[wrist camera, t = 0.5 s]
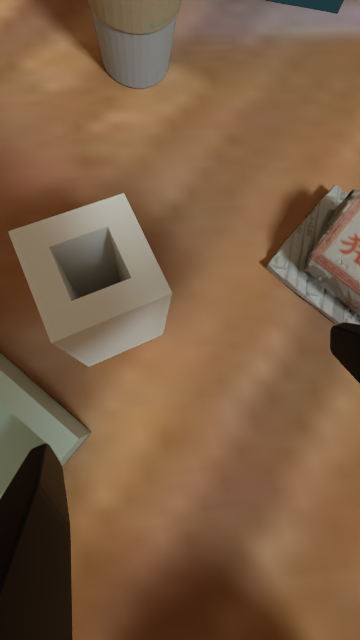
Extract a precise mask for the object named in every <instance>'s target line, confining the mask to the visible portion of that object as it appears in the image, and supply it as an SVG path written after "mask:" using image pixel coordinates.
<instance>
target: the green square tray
mask: <svg viewBox="0 0 360 640" xmlns="http://www.w3.org/2000/svg"><path fill="white" fill-rule="evenodd" d="M90 434H91V431H89V430H88V429H87V428H86V427H85V426H84V425H83V424H81V423H80V422H79V421H78V420H77V419H76V418H75V417H73V416H72V415H71V414H70V413H69V412H68V411H66V410H65V409H64V408H63V407H62V406H61V405H60V404H58V403H57V402H56V401H55V400H54V399H53V398H52V397H50V396H49V395H48V394H47V393H46V392H45V391H44V390H42V389H41V388H40V387H39V386H38V385H37V384H35V383H34V382H33V381H32V380H31V379H30V378H29V377H27V376H26V375H25V374H24V373H23V372H22V371H21V370H19V369H18V368H17V367H16V366H15V365H14V364H12V363H11V362H10V361H9V360H8V359H7V358H6V357H4V356H3V355H2V354H1V353H0V498H1V496H2V495H3V493H4V492H5V490H6V488H7V487H8V485H9V484H10V482H11V480H12V479H13V477H14V475H15V474H16V472H17V471H18V469H19V467H20V466H21V464H22V463H23V461H24V459H25V458H26V456H27V454H28V453H29V451H30V450H31V449H32V448H34V447H36V446H39V445H41V444H44V443H48V444H49V445H50V446H51V448H52V450H53V451H54V453H55V454H56V456H57V458H58V459H59V461H60V463H61V465H62V467H63V466H64V465H65V463H66V462H67V461H68V460H69V459H70V457H71V456H72V455H73V454H74V453H75V451H76V450H77V449H78V448H79V447H80V445H81V444H82V443H83V442H84V441H85V439H86V438H87V437H88V436H89V435H90Z"/></svg>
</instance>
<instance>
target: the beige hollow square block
mask: <svg viewBox="0 0 360 640" xmlns="http://www.w3.org/2000/svg"><path fill="white" fill-rule="evenodd" d="M8 233H9V236H10V238H11V241H12V243H13V246H14V249H15V251H16V254H17V256H18V259H19V262H20V264H21V267H22V269H23V272H24V275H25V277H26V280H27V282H28V285H29V288H30V290H31V293H32V295H33V298H34V300H35V303H36V306H37V308H38V311H39V313H40V316H41V319H42V321H43V324H44V326H45V329H46V332H47V334H48V337H49V339H50V342H51V343H52V344H53V345H55V346H56V347H58V348H60V349H61V350H63V351H64V352H66V353H67V354H69V355H71V356H72V357H74V358H75V359H77V360H79V361H80V362H82V363H83V364H85V365H87V366H88V367H90V366H92V365H94V364H97V363H99V362H101V361H104V360H106V359H108V358H110V357H113V356H115V355H117V354H120V353H122V352H124V351H126V350H129V349H131V348H133V347H136V346H138V345H140V344H142V343H145V342H147V341H149V340H152V339H154V338H156V337H158V336H161V335H163V331H164V327H165V322H166V318H167V314H168V310H169V305H170V301H171V297H172V291H171V289H170V287H169V285H168V283H167V281H166V279H165V277H164V275H163V273H162V271H161V269H160V267H159V264H158V262H157V260H156V258H155V256H154V254H153V252H152V250H151V248H150V246H149V244H148V242H147V240H146V238H145V235H144V233H143V231H142V229H141V227H140V225H139V223H138V221H137V219H136V217H135V215H134V213H133V211H132V208H131V206H130V204H129V202H128V200H127V198H126V196H125V194H124V193H122V194H119V195H116V196H113V197H110V198H107V199H104V200H101V201H98V202H95V203H92V204H89V205H86V206H83V207H80V208H77V209H74V210H71V211H68V212H65V213H62V214H59V215H56V216H53V217H50V218H47V219H44V220H41V221H38V222H35V223H32V224H29V225H26V226H23V227H19V228H16V229H13V230H10V231H8Z"/></svg>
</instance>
